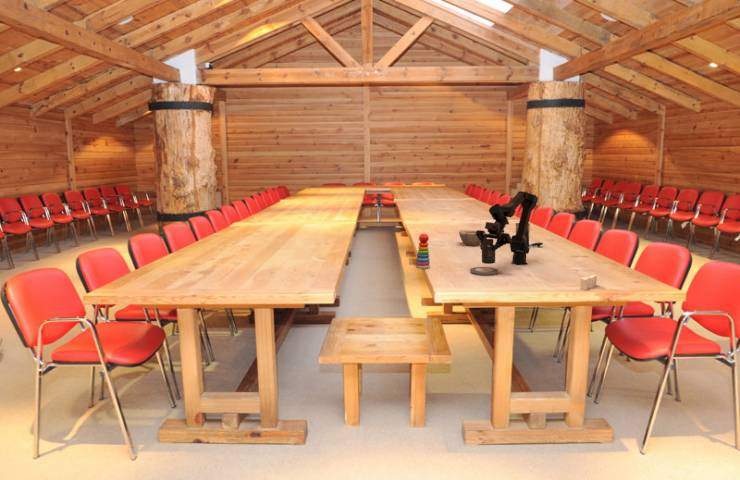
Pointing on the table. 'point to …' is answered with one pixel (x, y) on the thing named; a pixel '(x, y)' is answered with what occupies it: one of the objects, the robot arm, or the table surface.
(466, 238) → the mortar
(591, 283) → the napkin holder
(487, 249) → the supplement bottle
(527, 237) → the milk frother
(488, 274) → the hub pad
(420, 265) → the stacking toy
